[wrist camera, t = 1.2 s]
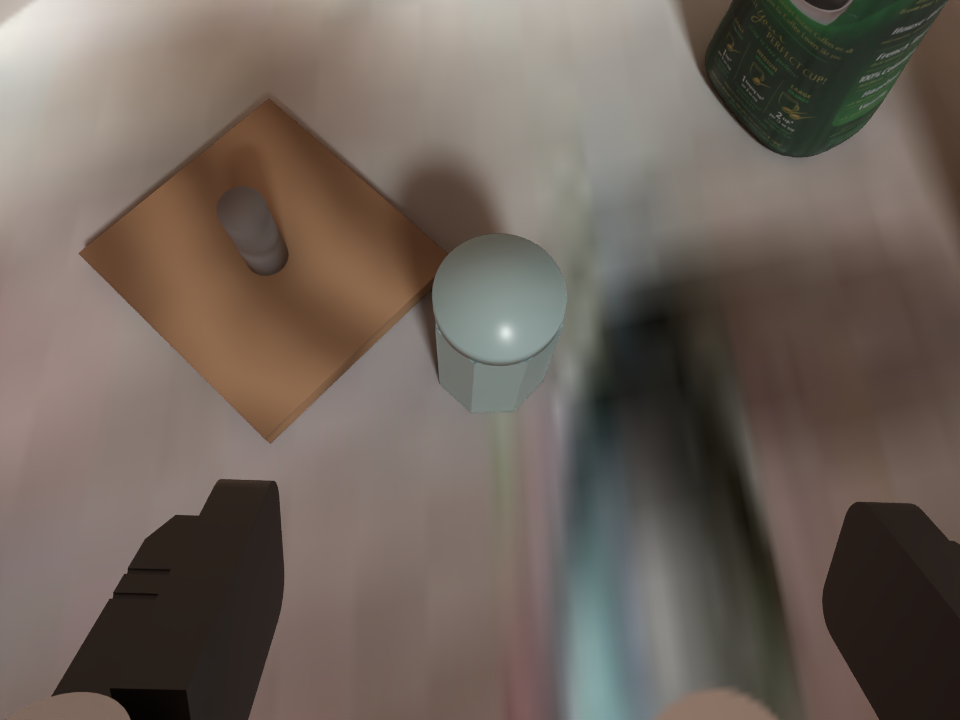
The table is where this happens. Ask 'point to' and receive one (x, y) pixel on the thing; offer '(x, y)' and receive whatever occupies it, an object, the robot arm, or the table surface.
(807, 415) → the table surface
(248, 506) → the robot arm
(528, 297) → the grey canister
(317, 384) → the post stand
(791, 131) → the coffee jar
